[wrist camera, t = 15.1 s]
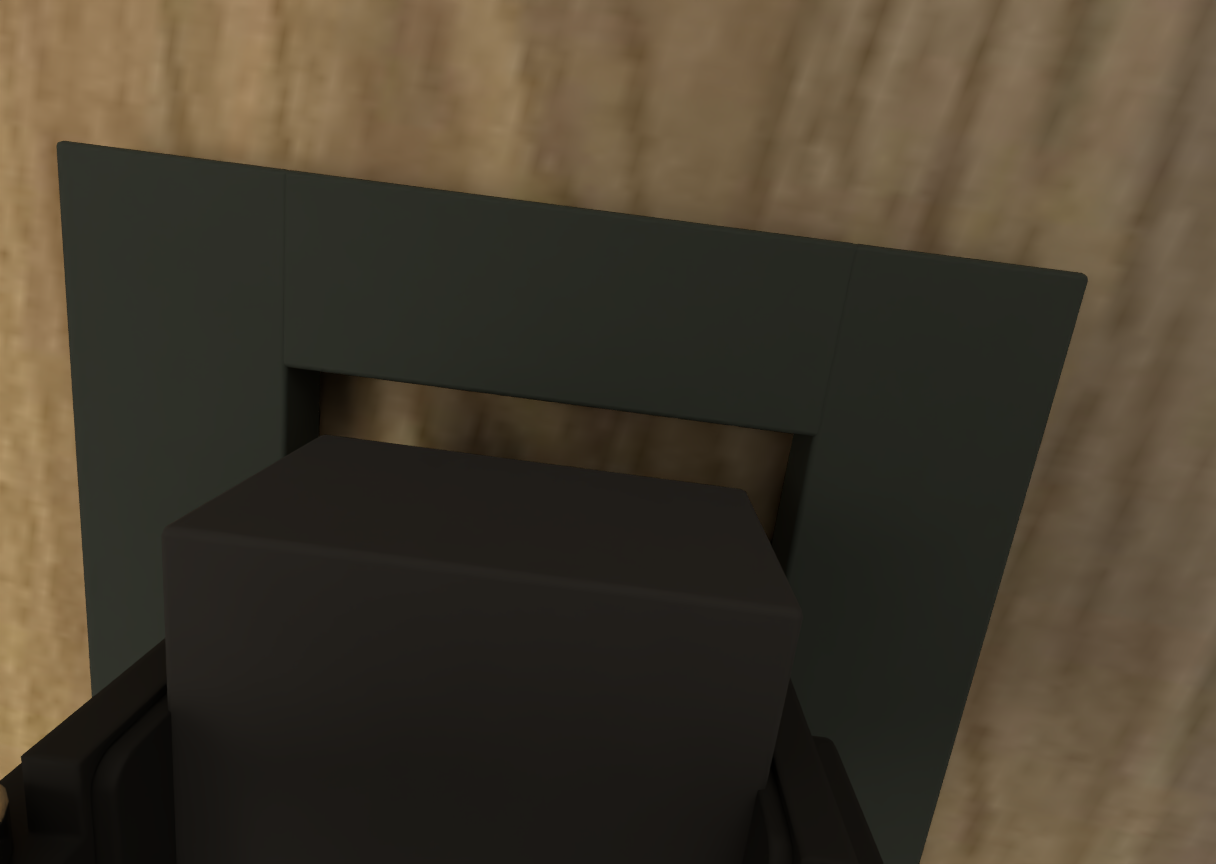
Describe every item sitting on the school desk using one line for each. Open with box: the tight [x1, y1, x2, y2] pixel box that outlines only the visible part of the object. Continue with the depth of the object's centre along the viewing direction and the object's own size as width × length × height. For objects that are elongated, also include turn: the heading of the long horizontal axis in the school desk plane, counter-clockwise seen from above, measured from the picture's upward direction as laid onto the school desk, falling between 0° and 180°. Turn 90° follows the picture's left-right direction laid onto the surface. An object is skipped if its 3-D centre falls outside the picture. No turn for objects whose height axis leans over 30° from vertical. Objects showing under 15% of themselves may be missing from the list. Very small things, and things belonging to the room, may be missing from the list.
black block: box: [161, 435, 803, 864], centre depth 9 cm, size 7×6×4 cm
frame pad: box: [57, 141, 1088, 864], centre depth 12 cm, size 14×14×1 cm
